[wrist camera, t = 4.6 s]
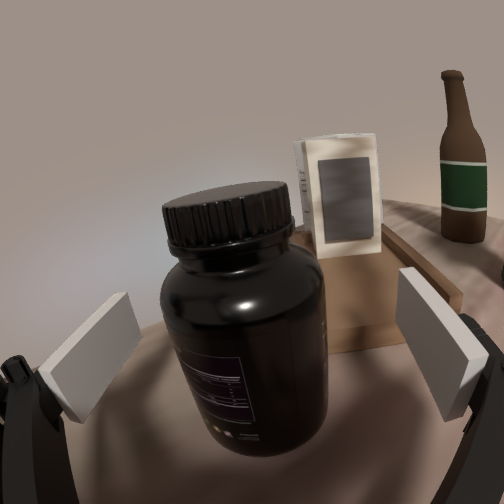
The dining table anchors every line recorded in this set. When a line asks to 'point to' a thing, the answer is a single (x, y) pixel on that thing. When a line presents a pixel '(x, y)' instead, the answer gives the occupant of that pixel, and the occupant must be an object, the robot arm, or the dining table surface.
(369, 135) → the supplement box
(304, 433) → the supplement bottle
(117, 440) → the dining table surface
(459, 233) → the beer bottle
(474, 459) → the robot arm
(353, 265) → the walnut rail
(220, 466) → the dining table surface
